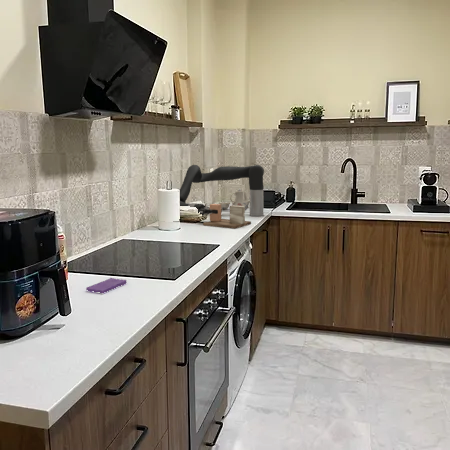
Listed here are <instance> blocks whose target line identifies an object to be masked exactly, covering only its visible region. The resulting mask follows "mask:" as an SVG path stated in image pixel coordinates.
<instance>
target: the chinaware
mask: <svg viewBox="0 0 450 450" xmlns="http://www.w3.org/2000/svg"><path fill="white" fill-rule="evenodd" d="M247 192H248V190H245V191H244V190H242V189H241V188H240V187H238V189H237V190H235V191H234V192H232V193H231V194H230V196H229V199H230V201H227V202H226V201H222V202H218V204H221V209H222V211H227V209H229V208H230V204H231V206H232V205H234V206H245V210H246V208H249V206H250V200H249V199H248V195H247ZM233 196H235V197H234V200H232V197H233Z"/></svg>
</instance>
